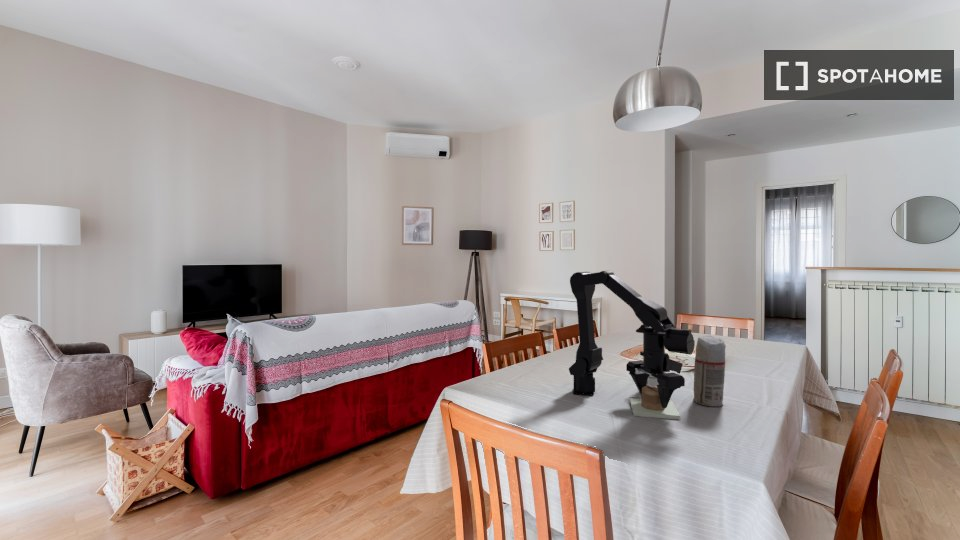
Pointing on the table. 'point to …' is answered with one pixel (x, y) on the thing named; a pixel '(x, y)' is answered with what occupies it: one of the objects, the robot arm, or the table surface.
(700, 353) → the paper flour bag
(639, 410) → the pale green flat slab
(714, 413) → the table surface
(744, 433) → the table surface
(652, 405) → the cap
